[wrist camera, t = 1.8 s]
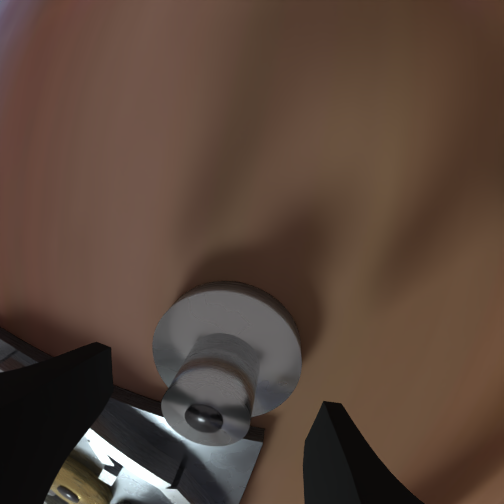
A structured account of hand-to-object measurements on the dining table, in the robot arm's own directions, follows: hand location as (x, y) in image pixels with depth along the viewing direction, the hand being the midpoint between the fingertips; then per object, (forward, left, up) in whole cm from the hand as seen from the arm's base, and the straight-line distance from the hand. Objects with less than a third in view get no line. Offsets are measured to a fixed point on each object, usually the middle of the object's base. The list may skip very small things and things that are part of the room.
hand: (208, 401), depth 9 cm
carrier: (+10, +17, -4) cm, 20 cm away
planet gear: (0, 0, -4) cm, 4 cm away
